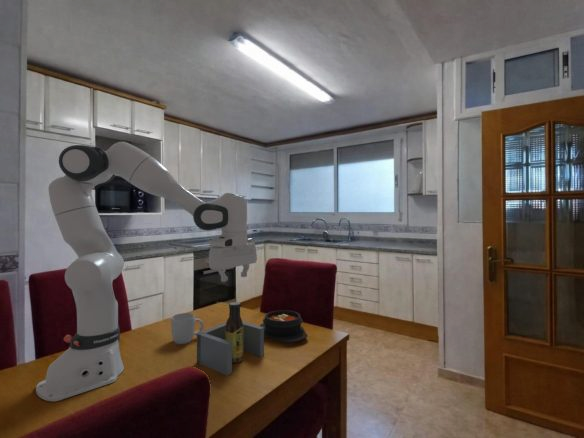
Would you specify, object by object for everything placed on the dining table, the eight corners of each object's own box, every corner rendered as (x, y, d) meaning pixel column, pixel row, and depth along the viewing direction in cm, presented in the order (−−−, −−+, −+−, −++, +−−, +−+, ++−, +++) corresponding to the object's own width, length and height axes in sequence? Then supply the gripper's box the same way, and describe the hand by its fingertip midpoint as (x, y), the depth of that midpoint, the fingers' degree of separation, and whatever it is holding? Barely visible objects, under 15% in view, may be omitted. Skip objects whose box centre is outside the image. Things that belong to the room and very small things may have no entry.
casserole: (318, 340, 126) (318, 319, 126) (279, 351, 116) (279, 329, 116) (285, 322, 147) (285, 304, 147) (250, 330, 137) (250, 311, 137)
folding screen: (227, 375, 98) (227, 344, 98) (196, 362, 107) (196, 333, 106) (263, 354, 113) (264, 327, 113) (234, 344, 121) (234, 319, 121)
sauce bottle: (239, 365, 105) (239, 307, 105) (222, 363, 106) (222, 305, 106) (245, 356, 111) (246, 301, 111) (229, 354, 113) (229, 300, 112)
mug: (173, 347, 118) (173, 321, 118) (169, 339, 126) (169, 315, 126) (206, 340, 125) (206, 316, 125) (200, 333, 133) (200, 310, 132)
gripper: (248, 237, 118) (248, 273, 119) (205, 241, 102) (205, 283, 102) (260, 238, 115) (260, 275, 115) (218, 242, 98) (218, 285, 98)
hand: (234, 279), depth 108 cm, fingers open, 8 cm apart
